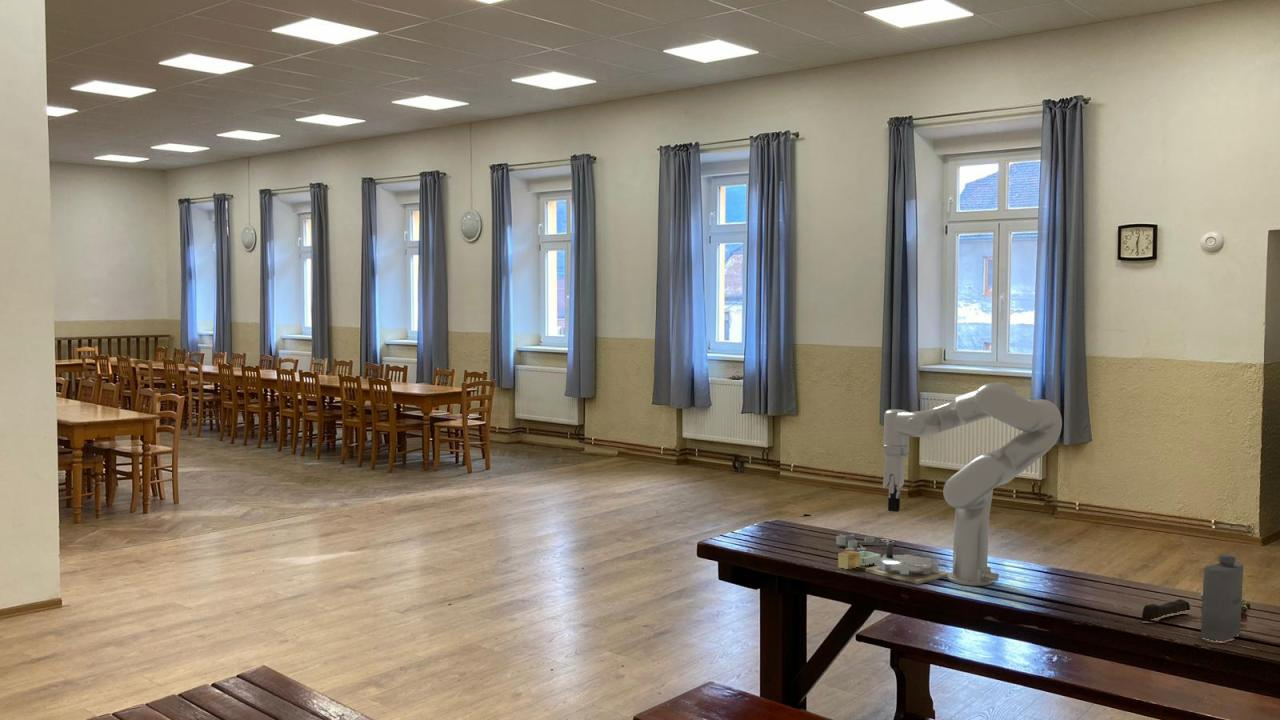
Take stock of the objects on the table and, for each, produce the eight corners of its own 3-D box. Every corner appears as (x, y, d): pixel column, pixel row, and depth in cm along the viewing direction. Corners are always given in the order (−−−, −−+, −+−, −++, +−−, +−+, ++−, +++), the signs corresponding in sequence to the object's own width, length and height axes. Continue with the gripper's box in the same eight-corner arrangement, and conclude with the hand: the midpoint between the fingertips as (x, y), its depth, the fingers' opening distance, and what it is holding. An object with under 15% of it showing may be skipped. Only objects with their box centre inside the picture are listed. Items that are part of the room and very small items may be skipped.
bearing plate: (948, 575, 312) (949, 570, 312) (917, 584, 301) (918, 578, 301) (897, 564, 325) (897, 559, 325) (865, 571, 315) (865, 566, 315)
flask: (1223, 646, 250) (1227, 562, 249) (1197, 640, 254) (1201, 557, 253) (1246, 634, 260) (1250, 553, 259) (1220, 628, 264) (1224, 549, 263)
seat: (881, 561, 328) (881, 554, 328) (863, 565, 322) (864, 558, 322) (864, 558, 333) (864, 550, 333) (846, 561, 327) (846, 554, 327)
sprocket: (950, 568, 312) (951, 548, 312) (915, 578, 300) (915, 557, 300) (898, 557, 326) (898, 538, 325) (862, 565, 314) (862, 545, 313)
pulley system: (818, 552, 344) (860, 557, 334) (818, 537, 344) (859, 542, 334) (858, 542, 365) (899, 546, 355) (858, 528, 365) (899, 532, 356)
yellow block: (859, 567, 320) (860, 552, 320) (847, 570, 317) (848, 554, 316) (850, 564, 323) (850, 549, 323) (837, 567, 319) (838, 552, 319)
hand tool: (1175, 612, 279) (1176, 595, 279) (1190, 616, 275) (1191, 598, 275) (1132, 622, 269) (1132, 604, 269) (1146, 626, 265) (1147, 608, 265)
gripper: (887, 447, 329) (885, 505, 330) (878, 452, 315) (876, 513, 316) (912, 448, 326) (910, 508, 327) (904, 454, 312) (902, 516, 313)
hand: (893, 510), depth 321 cm, fingers closed
